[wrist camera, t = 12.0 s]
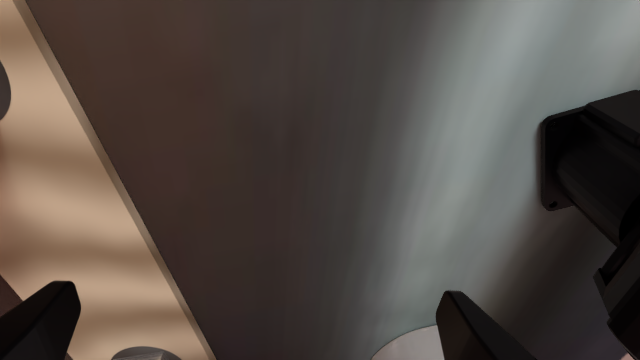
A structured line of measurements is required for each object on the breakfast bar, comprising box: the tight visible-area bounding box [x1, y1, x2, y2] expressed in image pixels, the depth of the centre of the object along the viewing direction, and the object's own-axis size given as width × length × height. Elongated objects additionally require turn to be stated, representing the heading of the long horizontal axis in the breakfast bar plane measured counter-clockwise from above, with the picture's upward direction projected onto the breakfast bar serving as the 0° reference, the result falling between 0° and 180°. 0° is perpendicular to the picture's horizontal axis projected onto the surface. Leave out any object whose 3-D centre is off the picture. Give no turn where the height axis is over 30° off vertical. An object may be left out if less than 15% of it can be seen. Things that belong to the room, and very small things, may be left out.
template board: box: [0, 0, 216, 360], centre depth 25 cm, size 33×10×1 cm, turn 10°
